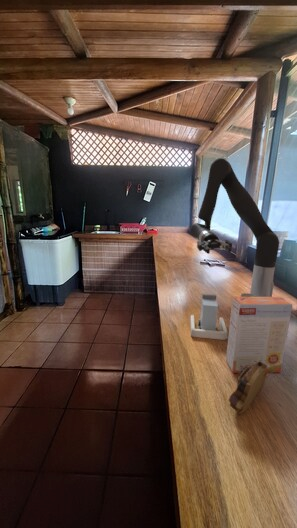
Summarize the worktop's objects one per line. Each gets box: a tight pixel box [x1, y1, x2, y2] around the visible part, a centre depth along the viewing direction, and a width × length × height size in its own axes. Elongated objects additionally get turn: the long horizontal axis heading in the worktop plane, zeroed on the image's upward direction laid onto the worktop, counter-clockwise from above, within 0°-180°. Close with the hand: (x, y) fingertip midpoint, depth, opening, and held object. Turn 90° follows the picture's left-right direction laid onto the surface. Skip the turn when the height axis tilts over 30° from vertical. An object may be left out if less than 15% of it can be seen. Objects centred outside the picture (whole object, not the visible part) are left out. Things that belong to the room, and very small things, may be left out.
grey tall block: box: [198, 293, 219, 331], centre depth 87 cm, size 6×7×12 cm
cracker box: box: [225, 296, 293, 374], centre depth 66 cm, size 14×6×21 cm, turn 92°
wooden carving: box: [228, 362, 269, 415], centre depth 55 cm, size 16×5×10 cm, turn 139°
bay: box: [189, 314, 229, 341], centre depth 88 cm, size 12×12×2 cm
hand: (219, 251), depth 96 cm, fingers open, 8 cm apart
